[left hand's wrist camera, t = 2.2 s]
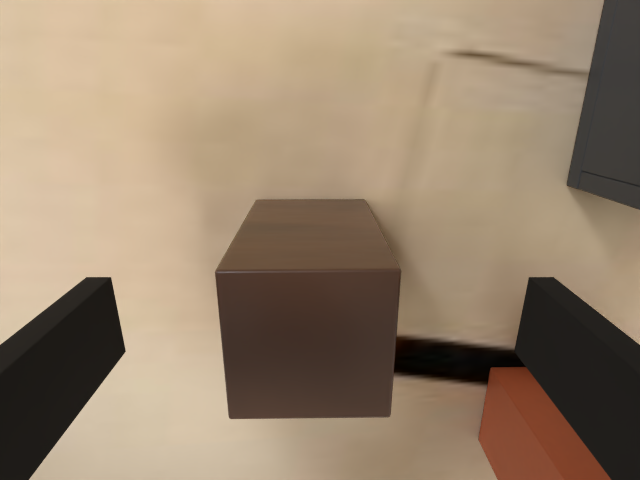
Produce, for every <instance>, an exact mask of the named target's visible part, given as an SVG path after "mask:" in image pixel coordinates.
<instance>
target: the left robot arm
mask: <svg viewBox="0 0 640 480" xmlns="http://www.w3.org/2000/svg"><path fill="white" fill-rule="evenodd" d="M125 352H126V351H125V346H124V341H123V336H122V331H121V326H120V321H119V316H118V310H117V305H116V300H115V295H114V290H113V285H112V280H111V277H86V278H85V279H84V280H83V281H81V282H80V283H79V284H77V285H76V286H75V287H74V288H72V289H71V290H70V291H69V292H67V293H66V294H65V295H63V296H62V297H61V298H60V299H58V300H57V301H56V302H55V303H53V304H52V305H51V306H49V307H48V308H47V309H46V310H44V311H43V312H42V313H40V314H39V315H38V316H37V317H35V318H34V319H33V320H32V321H30V322H29V323H28V324H26V325H25V326H24V327H23V328H21V329H20V330H19V331H18V332H16V333H15V334H14V335H12V336H11V337H10V338H9V339H7V340H6V341H5V342H4V343H2V344H1V345H0V480H29V479H30V477H31V476H32V475H33V473H34V472H35V471H36V469H37V468H38V467H39V465H40V464H41V463H42V461H43V460H44V459H45V457H46V456H47V455H48V453H49V452H50V451H51V450H52V448H53V447H54V446H55V444H56V443H57V442H58V440H59V439H60V438H61V436H62V435H63V434H64V432H65V431H66V430H67V428H68V427H69V426H70V424H71V423H72V422H73V420H74V419H75V418H76V416H77V415H78V414H79V412H80V411H81V410H82V408H83V407H84V406H85V405H86V403H87V402H88V401H89V399H90V398H91V397H92V395H93V394H94V393H95V391H96V390H97V389H98V387H99V386H100V385H101V383H102V382H103V381H104V379H105V378H106V377H107V375H108V374H109V373H110V371H111V370H112V369H113V367H114V366H115V365H116V363H117V362H118V361H119V360H120V358H121V357H122V356H123V354H124V353H125ZM514 352H515V353H516V354H517V356H518V357H519V358H520V360H521V361H522V362H523V363H524V365H525V366H526V367H527V369H528V370H529V371H530V373H531V374H532V375H533V377H534V378H535V379H536V381H537V382H538V383H539V385H540V386H541V387H542V389H543V390H544V391H545V393H546V394H547V395H548V397H549V398H550V399H551V401H552V402H553V403H554V405H555V406H556V407H557V408H558V410H559V411H560V412H561V414H562V415H563V416H564V418H565V419H566V420H567V422H568V423H569V424H570V426H571V427H572V428H573V430H574V431H575V432H576V434H577V435H578V436H579V438H580V439H581V440H582V442H583V443H584V444H585V446H586V447H587V448H588V450H589V451H590V452H591V453H592V455H593V456H594V457H595V459H596V460H597V461H598V463H599V464H600V465H601V467H602V468H603V469H604V471H605V472H606V473H607V475H608V476H609V477H610V479H611V480H640V345H639V344H638V343H636V342H635V341H634V340H633V339H631V338H630V337H629V336H628V335H626V334H625V333H624V332H622V331H621V330H620V329H619V328H617V327H616V326H615V325H614V324H612V323H611V322H610V321H608V320H607V319H606V318H605V317H603V316H602V315H601V314H600V313H598V312H597V311H596V310H594V309H593V308H592V307H591V306H589V305H588V304H587V303H585V302H584V301H583V300H582V299H580V298H579V297H578V296H577V295H575V294H574V293H573V292H571V291H570V290H569V289H568V288H566V287H565V286H564V285H563V284H561V283H560V282H559V281H557V280H556V279H555V278H554V277H529V280H528V285H527V290H526V295H525V300H524V305H523V310H522V316H521V321H520V326H519V331H518V336H517V341H516V346H515V351H514Z"/></svg>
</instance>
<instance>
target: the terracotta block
mask: <svg viewBox="0 0 640 480" xmlns="http://www.w3.org/2000/svg"><path fill="white" fill-rule="evenodd" d="M479 442H480V444H481V446H482V448H483V450H484V452H485V454H486V456H487V458H488V460H489V462H490V464H491V466H492V469H493V471H494V473H495V475H496V477H497V479H498V480H611V479H610V477H609V476H608V475H607V473H606V472H605V471H604V469H603V468H602V467H601V465H600V464H599V463H598V461H597V460H596V459H595V457H594V456H593V455H592V453H591V452H590V451H589V450H588V448H587V447H586V446H585V444H584V443H583V442H582V440H581V439H580V438H579V436H578V435H577V434H576V432H575V431H574V430H573V428H572V427H571V426H570V424H569V423H568V422H567V420H566V419H565V418H564V416H563V415H562V414H561V412H560V411H559V410H558V408H557V407H556V406H555V405H554V403H553V402H552V401H551V399H550V398H549V397H548V395H547V394H546V393H545V391H544V390H543V389H542V387H541V386H540V385H539V383H538V382H537V381H536V379H535V378H534V377H533V375H532V374H531V373H530V371H529V370H528V369H527V367H491V368H490V374H489V380H488V386H487V392H486V398H485V404H484V410H483V416H482V422H481V428H480V434H479Z"/></svg>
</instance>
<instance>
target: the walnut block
mask: <svg viewBox="0 0 640 480" xmlns="http://www.w3.org/2000/svg"><path fill="white" fill-rule="evenodd" d="M215 277H216V287H217V298H218V308H219V319H220V329H221V340H222V350H223V361H224V371H225V382H226V392H227V403H228V414H229V418H230V419H272V418H363V417H390V415H391V403H392V389H393V375H394V362H395V348H396V334H397V321H398V307H399V293H400V280H401V269H400V267H399V265H398V263H397V261H396V259H395V258H394V256H393V254H392V252H391V250H390V248H389V246H388V244H387V242H386V240H385V238H384V236H383V234H382V232H381V230H380V228H379V226H378V224H377V222H376V220H375V218H374V216H373V214H372V213H371V211H370V209H369V207H368V205H367V203H366V201H365V200H256V201H255V203H254V205H253V206H252V208H251V210H250V212H249V213H248V215H247V217H246V218H245V220H244V222H243V224H242V225H241V227H240V229H239V231H238V232H237V234H236V236H235V238H234V239H233V241H232V243H231V245H230V246H229V248H228V250H227V252H226V253H225V255H224V257H223V258H222V260H221V262H220V264H219V265H218V267H217V269H216V271H215Z"/></svg>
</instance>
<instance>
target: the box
mask: <svg viewBox="0 0 640 480" xmlns="http://www.w3.org/2000/svg"><path fill="white" fill-rule="evenodd" d="M567 186H570V187H573V188H576V189H580V190H583V191H586V192H589V193H592V194H595V195H598V196H600V197H603V198H606V199H609V200H612V201H615V202H618V203H621V204H624V205H627V206H630V207H633V208H636V209H639V210H640V0H605V2H604V6H603V11H602V16H601V21H600V26H599V31H598V36H597V40H596V45H595V50H594V55H593V60H592V65H591V70H590V74H589V79H588V84H587V89H586V94H585V99H584V104H583V108H582V113H581V118H580V123H579V128H578V133H577V138H576V143H575V147H574V152H573V157H572V162H571V167H570V172H569V177H568V181H567Z"/></svg>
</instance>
